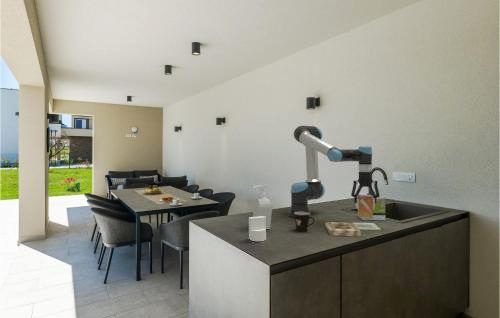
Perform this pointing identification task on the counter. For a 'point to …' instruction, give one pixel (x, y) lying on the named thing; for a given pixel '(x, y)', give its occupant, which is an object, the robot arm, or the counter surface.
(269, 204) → the soap bottle
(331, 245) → the counter surface
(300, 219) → the coffee mug
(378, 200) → the tea box
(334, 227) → the pocket block
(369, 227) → the sage pad
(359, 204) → the small box
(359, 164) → the robot arm
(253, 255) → the counter surface
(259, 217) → the base with upright slab
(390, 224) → the counter surface
